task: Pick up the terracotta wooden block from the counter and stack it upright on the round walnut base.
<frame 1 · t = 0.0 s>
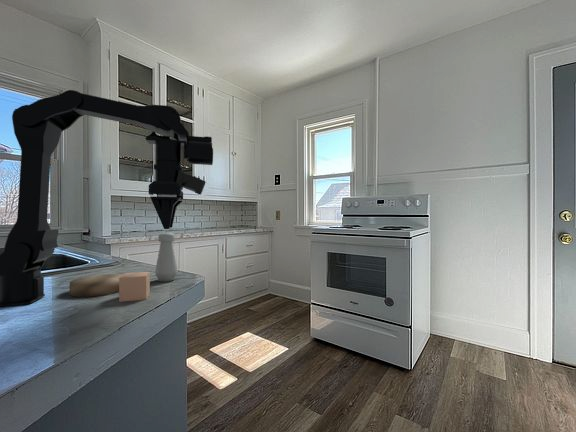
hand: (168, 228, 67), 15 cm above the worktop, fingers open, 9 cm apart
salt shaker: (166, 280, 78), on the worktop
terracotta block: (135, 297, 61), on the worktop
walnut base: (101, 289, 67), on the worktop
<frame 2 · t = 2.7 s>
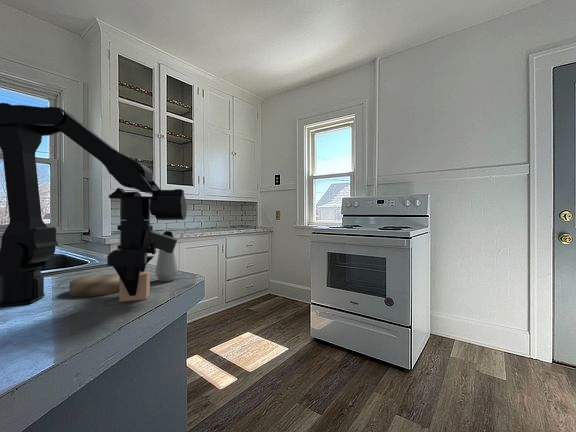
hand: (135, 292, 61), 1 cm above the worktop, fingers closed on terracotta block, 5 cm apart
terracotta block: (135, 297, 61), on the worktop, touching gripper
everything else where it was.
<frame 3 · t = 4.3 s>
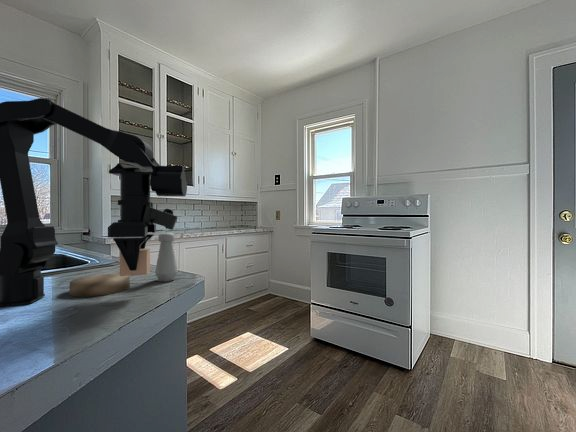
hand: (135, 268, 61), 6 cm above the worktop, fingers closed on terracotta block, 5 cm apart
terracotta block: (135, 273, 61), point 5 cm above the worktop, touching gripper
everything else where it was.
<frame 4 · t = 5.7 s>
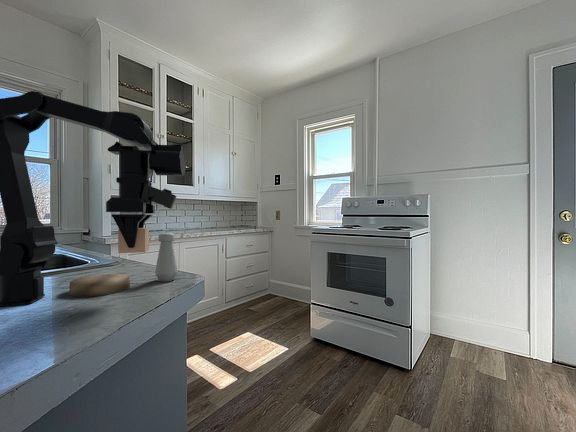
hand: (134, 246, 61), 11 cm above the worktop, fingers closed on terracotta block, 5 cm apart
terracotta block: (134, 251, 61), point 10 cm above the worktop, touching gripper
everything else where it was.
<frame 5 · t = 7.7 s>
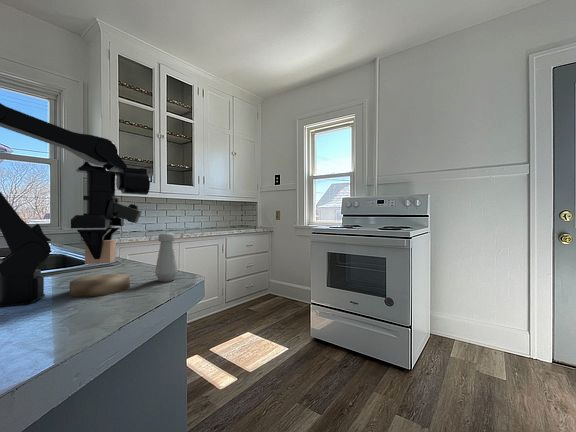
hand: (100, 257, 67), 8 cm above the worktop, fingers closed on terracotta block, 5 cm apart
terracotta block: (100, 261, 67), point 7 cm above the worktop, touching gripper
everything else where it was.
when the fingers open (5 cm above the worktop, at t = 9.1 s): terracotta block drops 1 cm, resting on walnut base.
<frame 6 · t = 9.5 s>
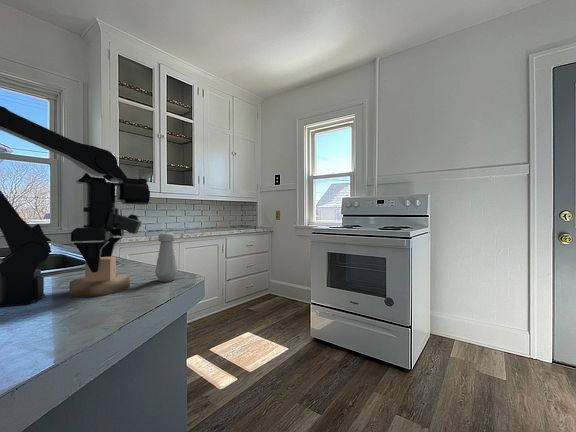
hand: (101, 268, 67), 5 cm above the worktop, fingers open, 9 cm apart
terracotta block: (101, 279, 67), point 2 cm above the worktop, touching walnut base
everything else where it was.
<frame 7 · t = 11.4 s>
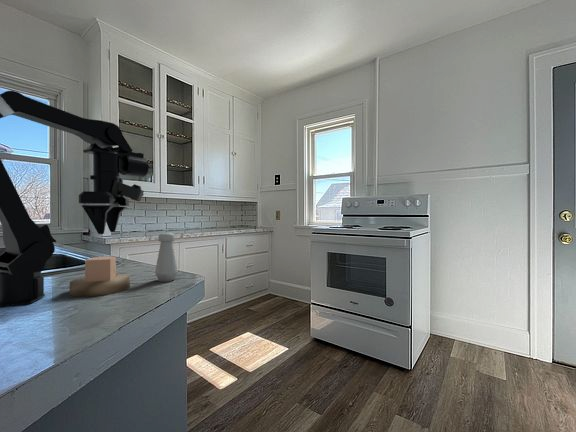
hand: (107, 232, 73), 13 cm above the worktop, fingers open, 9 cm apart
nothing on the worktop moved.
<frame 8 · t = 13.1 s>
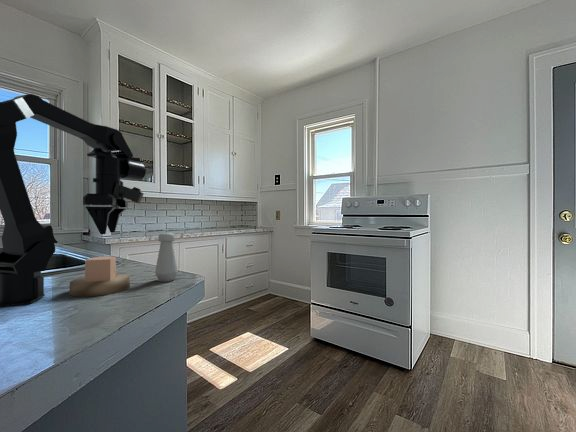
hand: (108, 233, 77), 13 cm above the worktop, fingers open, 9 cm apart
nothing on the worktop moved.
at the end: terracotta block 0.0 cm off-centre on the walnut base, point 2.5 cm above the walnut base's base; terracotta block tilted 0°; terracotta block touching walnut base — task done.
